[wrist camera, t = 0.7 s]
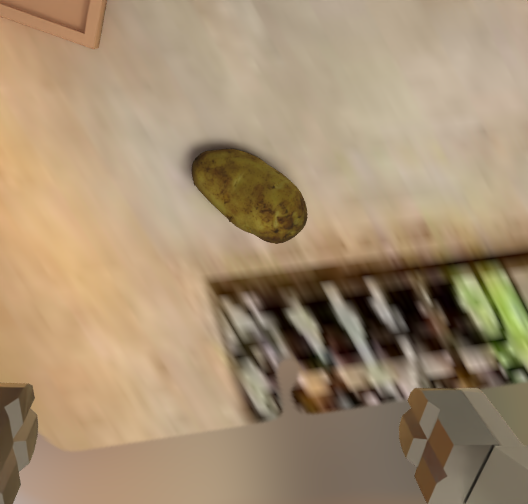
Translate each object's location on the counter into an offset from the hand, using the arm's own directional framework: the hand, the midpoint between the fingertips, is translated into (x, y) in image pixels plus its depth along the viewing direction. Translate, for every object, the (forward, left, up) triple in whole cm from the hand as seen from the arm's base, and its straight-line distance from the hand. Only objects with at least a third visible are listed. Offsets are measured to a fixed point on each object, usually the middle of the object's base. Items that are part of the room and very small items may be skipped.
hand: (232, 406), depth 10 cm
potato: (+7, +6, -43) cm, 44 cm away
